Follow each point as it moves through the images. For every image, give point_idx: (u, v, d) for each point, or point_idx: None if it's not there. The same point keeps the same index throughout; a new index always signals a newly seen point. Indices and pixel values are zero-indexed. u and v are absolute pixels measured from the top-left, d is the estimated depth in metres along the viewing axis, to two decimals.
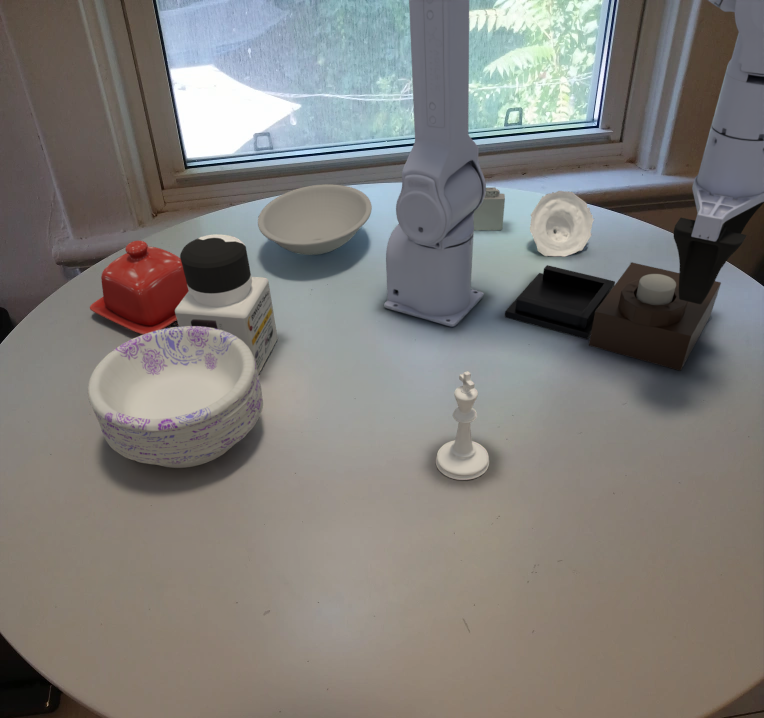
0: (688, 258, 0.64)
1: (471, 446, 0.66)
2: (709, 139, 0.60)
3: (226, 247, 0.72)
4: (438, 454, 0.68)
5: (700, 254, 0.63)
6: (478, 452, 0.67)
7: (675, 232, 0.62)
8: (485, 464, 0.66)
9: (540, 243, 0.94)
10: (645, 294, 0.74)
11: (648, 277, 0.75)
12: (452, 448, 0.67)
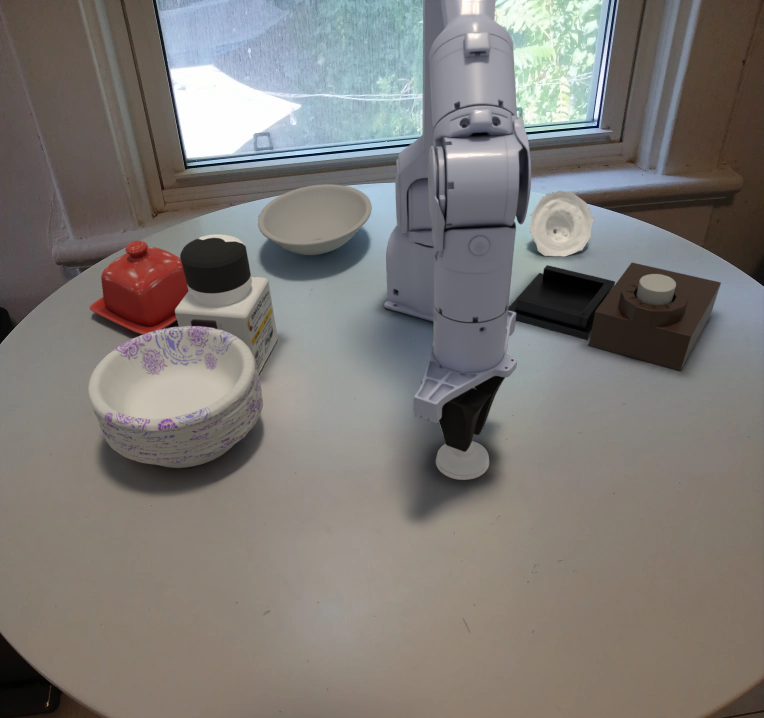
0: (443, 410, 0.62)
1: (471, 446, 0.66)
2: None
3: (226, 246, 0.72)
4: (438, 454, 0.68)
5: (453, 407, 0.62)
6: (478, 452, 0.67)
7: None
8: (485, 464, 0.66)
9: (540, 243, 0.94)
10: (645, 294, 0.74)
11: (648, 277, 0.75)
12: (452, 448, 0.67)
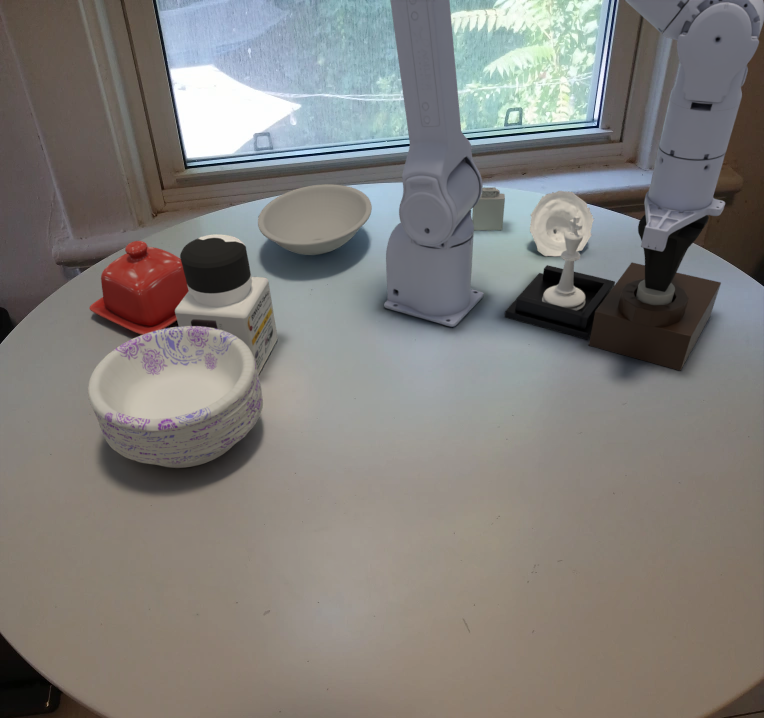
0: (652, 250, 0.72)
1: (573, 285, 0.83)
2: (657, 158, 0.66)
3: (226, 246, 0.72)
4: (544, 294, 0.85)
5: None
6: (577, 291, 0.84)
7: (639, 227, 0.70)
8: (583, 300, 0.84)
9: (540, 243, 0.94)
10: (644, 298, 0.75)
11: None
12: (557, 287, 0.84)
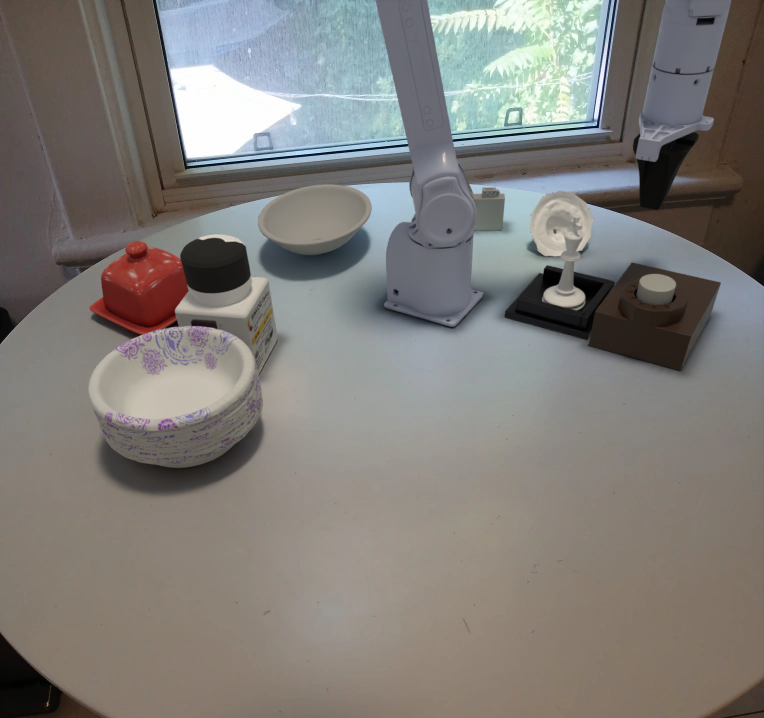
0: (646, 168, 0.77)
1: (573, 285, 0.83)
2: (650, 76, 0.71)
3: (226, 246, 0.72)
4: (544, 294, 0.85)
5: (656, 165, 0.76)
6: (577, 291, 0.84)
7: (634, 144, 0.75)
8: (583, 300, 0.84)
9: (540, 243, 0.94)
10: (645, 294, 0.74)
11: (648, 277, 0.75)
12: (557, 287, 0.84)
